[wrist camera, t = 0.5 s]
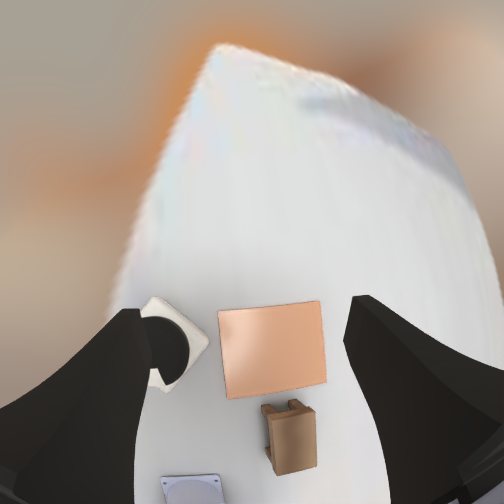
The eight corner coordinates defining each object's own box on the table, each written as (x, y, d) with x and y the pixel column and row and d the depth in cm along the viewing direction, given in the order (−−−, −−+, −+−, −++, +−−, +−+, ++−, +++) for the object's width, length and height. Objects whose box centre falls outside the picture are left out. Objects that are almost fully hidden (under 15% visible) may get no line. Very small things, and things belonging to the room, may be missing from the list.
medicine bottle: (161, 297, 34) (144, 291, 22) (208, 335, 34) (214, 348, 22) (126, 341, 32) (94, 355, 20) (172, 379, 32) (161, 411, 20)
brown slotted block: (297, 397, 34) (315, 411, 28) (300, 447, 33) (317, 466, 27) (259, 404, 33) (271, 420, 27) (265, 455, 32) (277, 476, 26)
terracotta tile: (324, 381, 35) (326, 382, 35) (227, 397, 33) (227, 399, 32) (318, 300, 37) (320, 300, 37) (217, 311, 35) (218, 311, 34)
